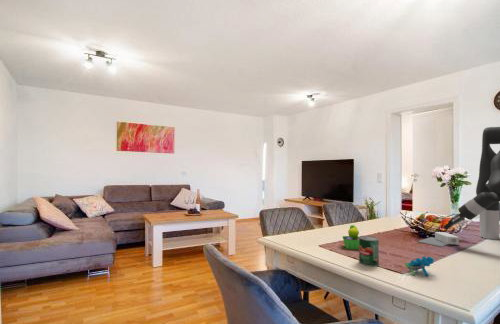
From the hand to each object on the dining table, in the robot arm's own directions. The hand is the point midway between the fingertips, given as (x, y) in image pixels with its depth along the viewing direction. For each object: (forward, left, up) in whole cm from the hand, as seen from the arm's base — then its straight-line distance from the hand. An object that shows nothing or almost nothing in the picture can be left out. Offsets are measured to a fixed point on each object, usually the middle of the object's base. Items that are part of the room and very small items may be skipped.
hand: (444, 228), depth 152 cm
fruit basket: (+49, -24, -9) cm, 55 cm away
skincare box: (-1, +4, -6) cm, 8 cm away
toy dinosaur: (+58, +12, -9) cm, 60 cm away
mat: (-1, -5, -9) cm, 10 cm away
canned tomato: (+65, -6, -9) cm, 66 cm away
